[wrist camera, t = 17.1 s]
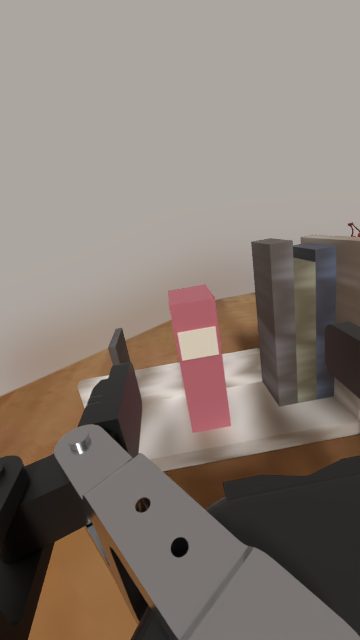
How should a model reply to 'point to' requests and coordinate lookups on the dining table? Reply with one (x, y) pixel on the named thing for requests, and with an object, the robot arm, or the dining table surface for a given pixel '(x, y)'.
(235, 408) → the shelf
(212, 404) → the book
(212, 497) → the dining table surface
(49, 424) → the dining table surface
